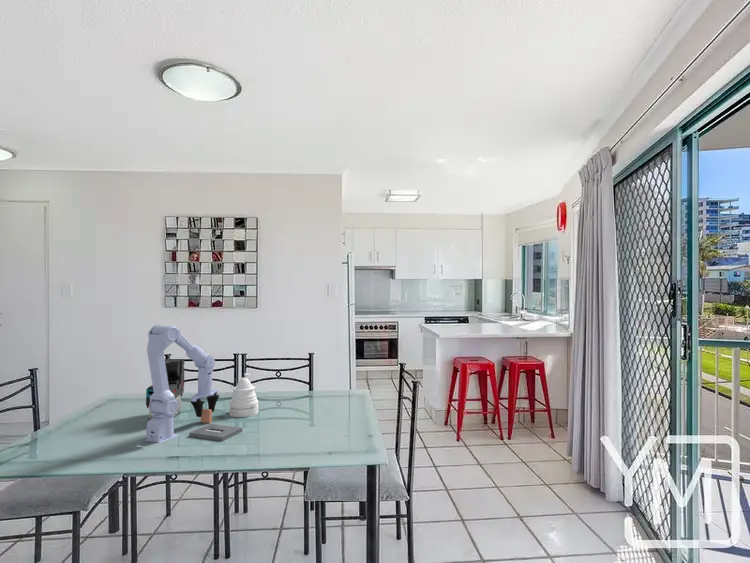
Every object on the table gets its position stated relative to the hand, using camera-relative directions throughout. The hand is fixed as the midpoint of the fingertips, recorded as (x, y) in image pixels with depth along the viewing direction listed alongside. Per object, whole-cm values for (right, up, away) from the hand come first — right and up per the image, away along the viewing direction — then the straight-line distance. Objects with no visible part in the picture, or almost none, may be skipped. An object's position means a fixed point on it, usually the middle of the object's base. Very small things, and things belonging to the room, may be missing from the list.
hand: (205, 414), depth 199 cm
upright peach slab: (0, -4, 0) cm, 4 cm away
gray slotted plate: (+10, -4, -16) cm, 19 cm away
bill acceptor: (-21, -4, +9) cm, 23 cm away
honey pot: (+12, -4, +16) cm, 20 cm away
